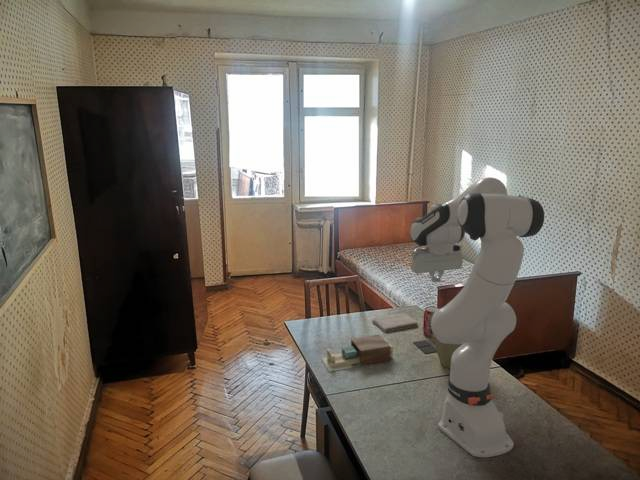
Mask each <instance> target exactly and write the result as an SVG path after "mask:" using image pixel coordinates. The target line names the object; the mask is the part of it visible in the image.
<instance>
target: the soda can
mask: <svg viewBox="0 0 640 480" xmlns="http://www.w3.org/2000/svg"><path fill="white" fill-rule="evenodd" d="M439 309H440V308H439V307H438V306H437V307H436V306H434V305H433V306H431V305H430V306H426V307H425V310H424V312H423V320H422V321H423V323H422V324H423V325H422V332H423V333H422V334H423V335H425V336H426V337H428V338H434V337H433V332H432V329H431V320H432V316H433V314H434V313H435V312H436V311H437V310H439Z"/></svg>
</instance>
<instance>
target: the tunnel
mask: <svg viewBox="0 0 640 480" xmlns="http://www.w3.org/2000/svg"><path fill="white" fill-rule="evenodd" d="M385 340H386V339H384V338H383V336H381V335H380V334H375V335H368V336H363V337H362V336H361V337H356V338H351V339H350V346H353V347H354V349H355V350H356V351H360V363H359V366H360V367H365V366H366V367H367V366H372V365H373V366H374V365H377V364H383V363H389V362H391V357H390V345H389V344H388V343H387V342H386V341H385Z"/></svg>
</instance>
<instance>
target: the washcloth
mask: <svg viewBox="0 0 640 480" xmlns="http://www.w3.org/2000/svg"><path fill="white" fill-rule="evenodd" d="M372 323H373V324H374V325H375V326H376V327H378V328H379V330H381V331H383V332H384V333H389V332H390V333H391V332H395V331H399V330H404V329H410V328H416V327H418V326H419V325H418V324H419V323H418V321H417V320H415V319H414V318H413V317H411V315H408V314H407V313H405V312H404V313H403V312H402V313H392V314H387V315H382V316H377V317H374V318H373V319H372Z"/></svg>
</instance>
